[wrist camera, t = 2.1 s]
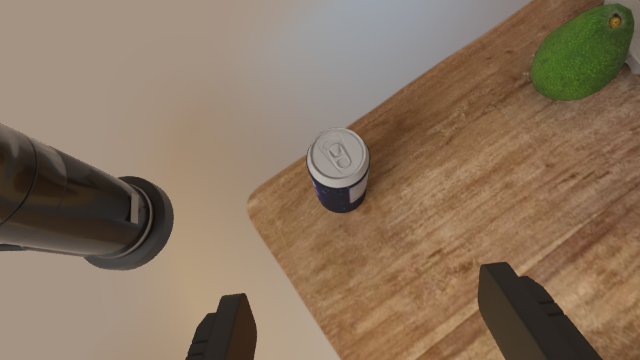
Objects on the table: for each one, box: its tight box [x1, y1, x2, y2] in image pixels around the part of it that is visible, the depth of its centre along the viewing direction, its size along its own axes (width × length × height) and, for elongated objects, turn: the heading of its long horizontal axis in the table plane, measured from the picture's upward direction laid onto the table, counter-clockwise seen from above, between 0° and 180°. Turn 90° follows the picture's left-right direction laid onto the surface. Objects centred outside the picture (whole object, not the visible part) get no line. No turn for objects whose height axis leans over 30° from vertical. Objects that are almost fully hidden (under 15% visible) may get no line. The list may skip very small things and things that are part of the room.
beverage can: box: [306, 127, 370, 213], centre depth 35 cm, size 6×6×12 cm
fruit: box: [531, 3, 635, 101], centre depth 37 cm, size 8×8×12 cm
